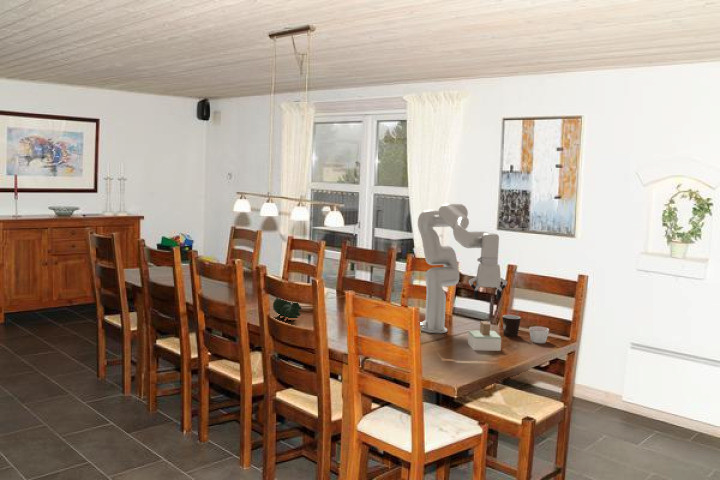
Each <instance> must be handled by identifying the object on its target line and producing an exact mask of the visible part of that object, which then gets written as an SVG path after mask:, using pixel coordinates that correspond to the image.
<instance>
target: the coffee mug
mask: <svg viewBox="0 0 720 480" xmlns="http://www.w3.org/2000/svg"><path fill="white" fill-rule="evenodd" d="M520 324H521V316H518V315H515V314H504V315H502V328H503V336H504V337H509V338H515V337H518V335H519V329H520Z"/></svg>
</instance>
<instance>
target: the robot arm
mask: <svg viewBox="0 0 720 480" xmlns="http://www.w3.org/2000/svg"><path fill="white" fill-rule="evenodd" d="M418 215H419V216H418V218H417V227H418V231H419V234H420V238H421V241H422V247H423V254H424V259H425V262H426V263H427V264H428V265H430V266H436V267H432V268H429V269H428V270H426V273H425V274H424V275H425V276H424V277H425V280H424V281H425V285H426V300H425V317H424V318H425V319H424V320H423V321H421V322H420V321H419V322H420V327H421V331H423V332H424V333H427V334H428V333H429V334H445V333H447V332H448V328H447V327H445V323H446V321H445V320H446V302H447V300H446V299H447V297H446V296H447V295H446V292H445V290H444V287H451V286H452V287H453V286H456V285H457V284H458V283H459V280H460V270H459V265H458V259H457V254H456V251H455V249H454V248H453V247H452V246H450V245H441V242H440V236H439V234H438V233H437V231H436V230H435V229H434V228H441V227H442V228H448V227H450V228H451V229H452V233H453V238H454V240H455V241H456V242H457V243H458V244H460V245H461V247H463V248H465V249H480V257H479V258H477V262H479V264H478V266H477V271H476V276H474V277H473V278H470V279H468V283H469V285H470V287H471V288H472V289H473V290H474V291H473V297H474V299H475V300H479V289H480V287H481V288H496V295H495V296H496V297H495V299H496V300H497V301H500V299H501V298H502V291H503V290H504V289H505V288H506V286H507V284H508V281H507V280H506V279H504V278H502V277H501V267H500V266H501V265H500V264H498V263H499V245H500V244H499V243H500V236H499V234H497V233H493V232H487V231H477V230H476V231H469V230H467V228H468V227H469V224H470V223H469V222H470V221H469V218H468V215H469V212H468V209H467V207H466V206H465V205H464V204H462V203H445V204H442V205H441V206H440V207H439V208H438V209H427V210H424V211H422V212H421V213H420V214H418ZM441 265H442V266H441ZM474 282H476V283H475V284H476V285H474ZM501 283H502V284H501Z"/></svg>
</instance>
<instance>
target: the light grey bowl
mask: <svg viewBox="0 0 720 480" xmlns="http://www.w3.org/2000/svg"><path fill="white" fill-rule="evenodd" d="M549 332H550V329H549V328H548V327H544V326H537V325H536V326H530V327H529V336H530V337H529V338H530V341H531V342H532V343H535V344H546V342H547V339H548V335H549Z"/></svg>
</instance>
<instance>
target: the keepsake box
mask: <svg viewBox="0 0 720 480" xmlns="http://www.w3.org/2000/svg"><path fill="white" fill-rule="evenodd" d="M467 334H468V335H467V344H468V345H469V346H470V347H471V349H472V350H473V351H490V352H491V351H493V352H494V351H498V352H500V351H501V348H502V338H501V339H474V338H473V337H472V335H471V334H470V333H469V332H468V333H467Z"/></svg>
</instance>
